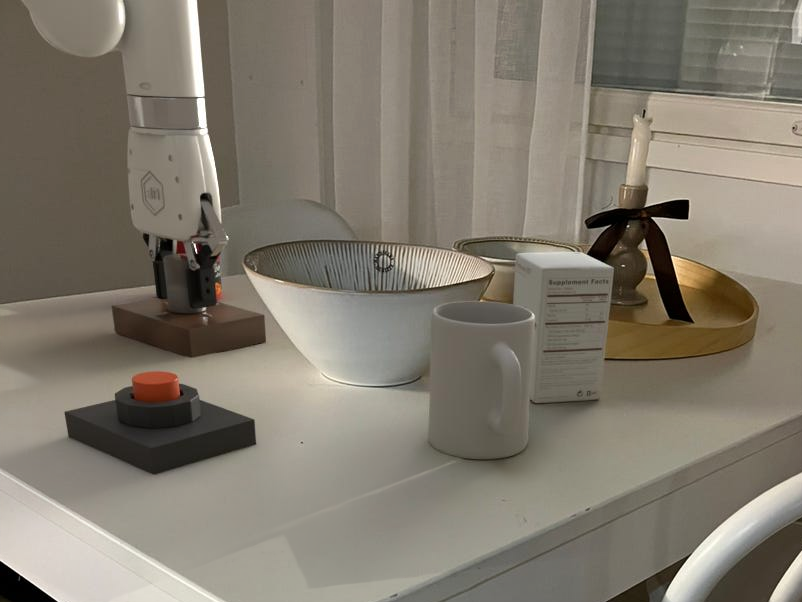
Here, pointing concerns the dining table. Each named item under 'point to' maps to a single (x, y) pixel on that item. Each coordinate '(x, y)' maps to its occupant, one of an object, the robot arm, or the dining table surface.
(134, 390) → the button
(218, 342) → the dial panel
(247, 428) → the button base
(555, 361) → the white packaging box
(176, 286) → the dial
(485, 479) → the dining table surface
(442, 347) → the mug
